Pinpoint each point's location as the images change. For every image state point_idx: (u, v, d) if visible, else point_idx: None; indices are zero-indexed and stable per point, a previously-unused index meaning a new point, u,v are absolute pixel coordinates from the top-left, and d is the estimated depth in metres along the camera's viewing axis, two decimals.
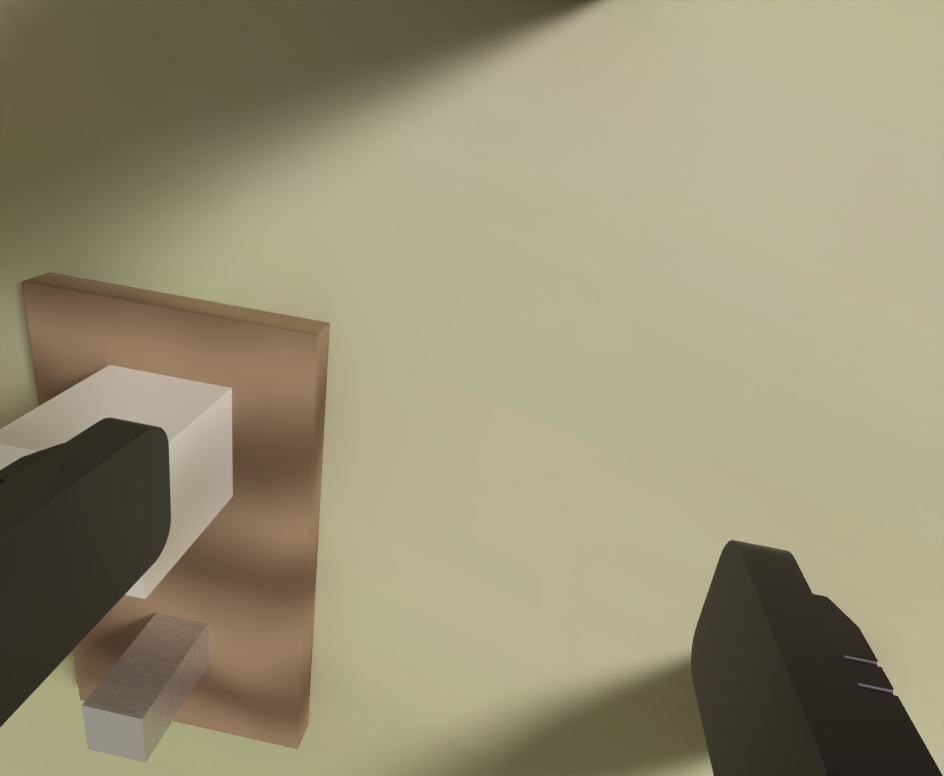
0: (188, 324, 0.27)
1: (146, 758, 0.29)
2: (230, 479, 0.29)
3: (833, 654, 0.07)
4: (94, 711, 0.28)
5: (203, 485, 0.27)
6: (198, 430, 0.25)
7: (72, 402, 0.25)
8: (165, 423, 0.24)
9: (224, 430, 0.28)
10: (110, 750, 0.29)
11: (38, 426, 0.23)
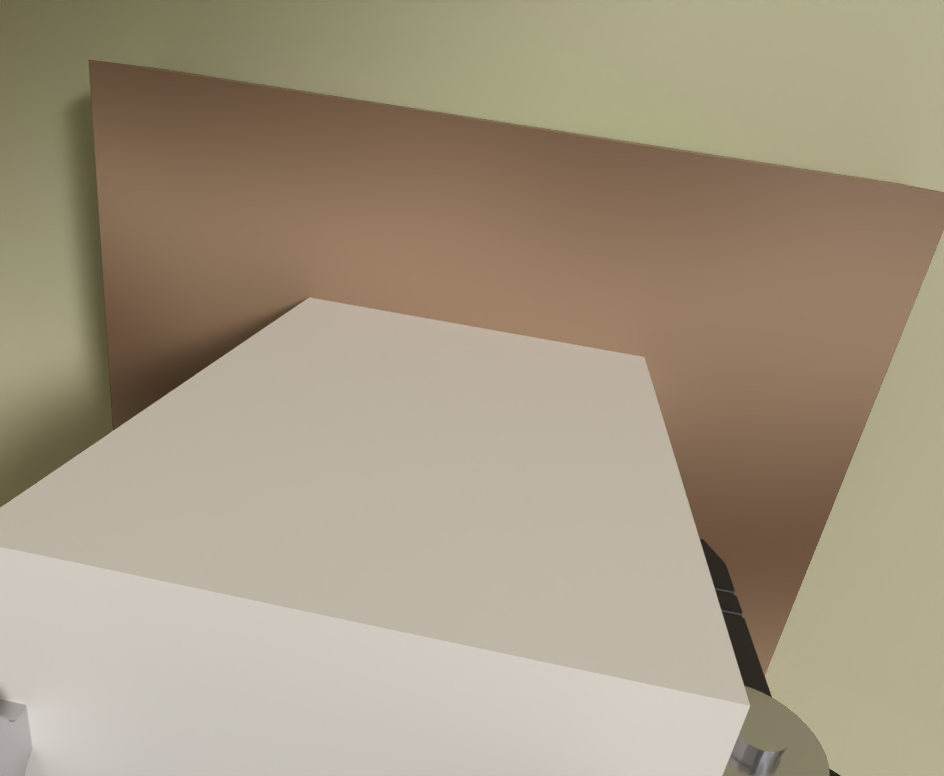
0: (558, 173, 0.09)
1: None
2: None
3: None
4: None
5: None
6: None
7: (269, 384, 0.07)
8: (601, 454, 0.07)
9: None
10: None
11: (193, 468, 0.06)
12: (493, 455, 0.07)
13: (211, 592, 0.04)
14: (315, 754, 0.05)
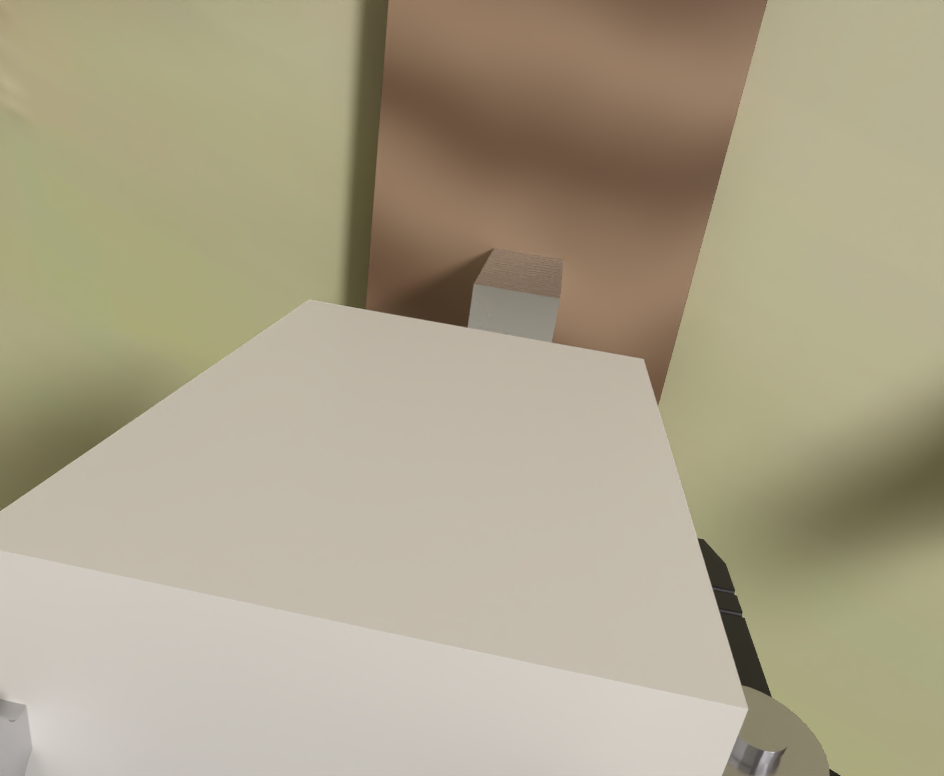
0: None
1: None
2: None
3: None
4: (490, 292, 0.20)
5: None
6: None
7: (269, 386, 0.07)
8: (600, 457, 0.07)
9: None
10: None
11: (194, 470, 0.06)
12: (492, 457, 0.07)
13: (211, 596, 0.04)
14: (314, 756, 0.05)
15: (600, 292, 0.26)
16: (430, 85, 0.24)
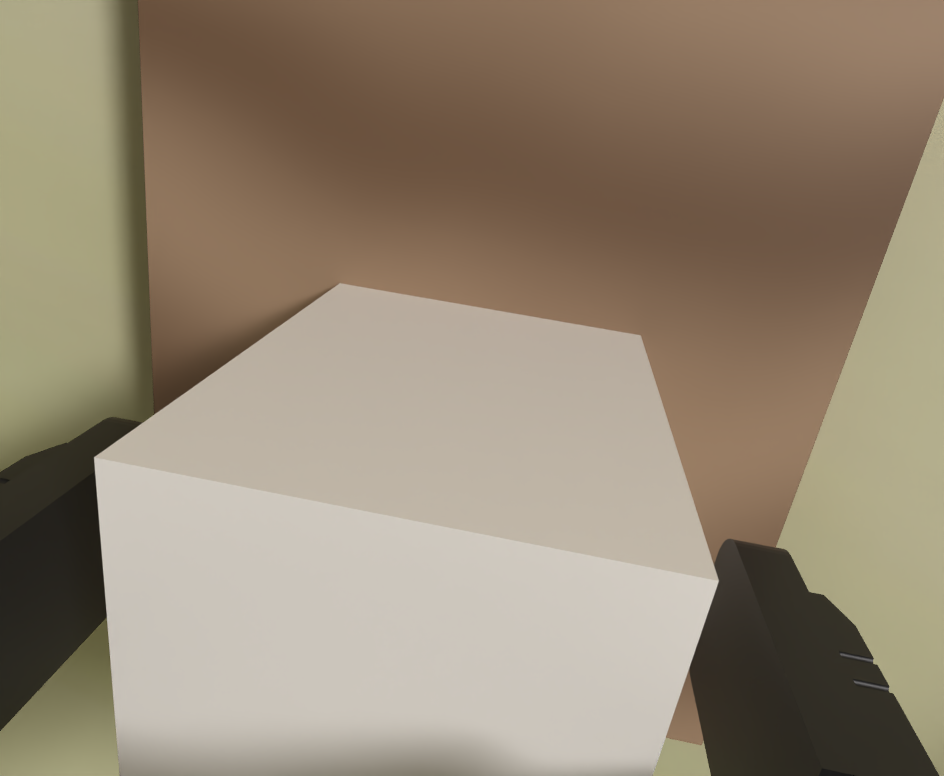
0: None
1: None
2: None
3: (828, 652, 0.07)
4: None
5: None
6: None
7: (317, 352, 0.09)
8: (603, 410, 0.08)
9: None
10: None
11: (267, 413, 0.07)
12: (511, 408, 0.08)
13: (296, 499, 0.06)
14: (375, 633, 0.06)
15: None
16: (242, 13, 0.10)
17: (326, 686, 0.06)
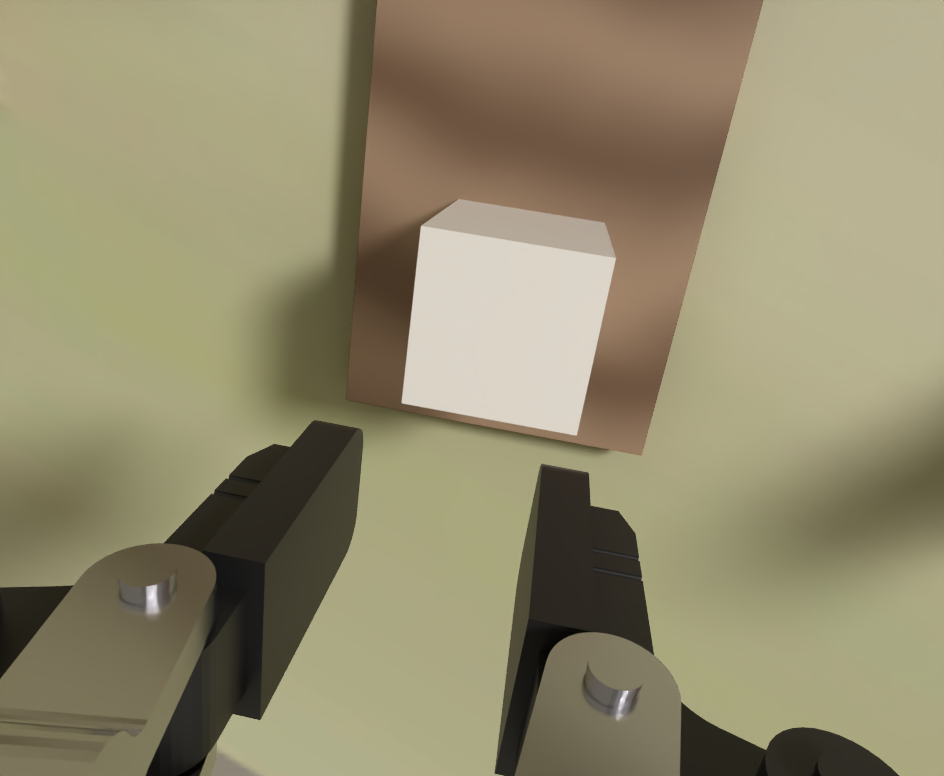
0: None
1: None
2: None
3: (583, 544, 0.08)
4: None
5: None
6: None
7: (467, 214, 0.21)
8: (584, 234, 0.21)
9: None
10: None
11: (462, 224, 0.19)
12: (548, 231, 0.20)
13: (485, 237, 0.18)
14: (507, 286, 0.18)
15: None
16: (421, 70, 0.23)
17: (489, 310, 0.19)
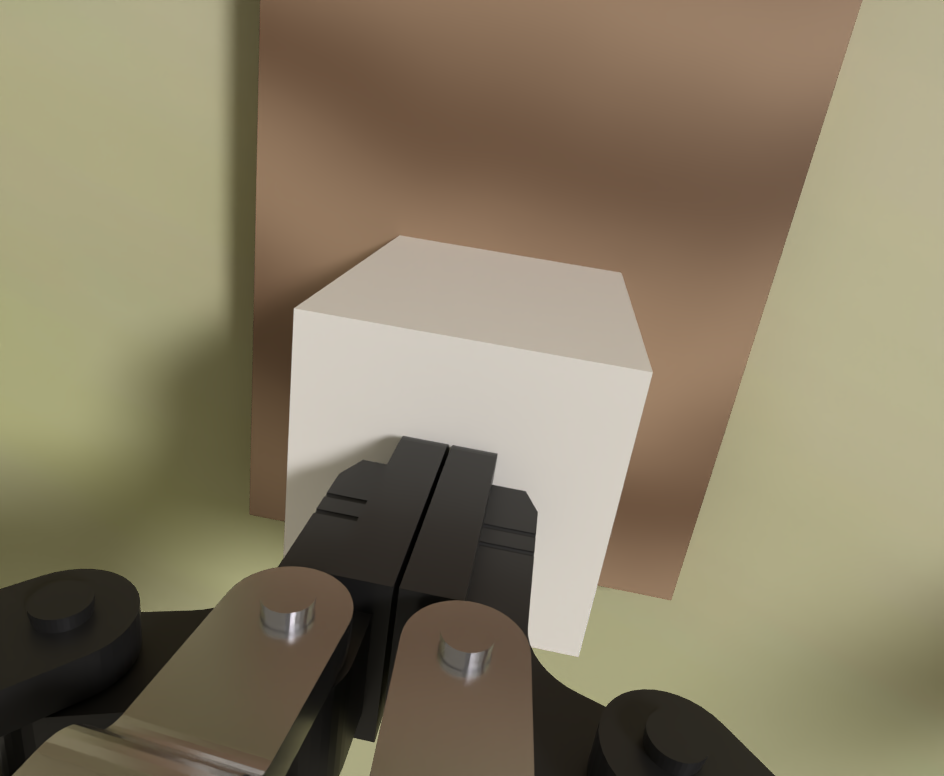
0: None
1: None
2: None
3: (474, 519, 0.08)
4: None
5: None
6: None
7: (398, 270, 0.13)
8: (591, 306, 0.12)
9: None
10: None
11: (380, 296, 0.11)
12: (531, 302, 0.12)
13: (411, 331, 0.10)
14: (454, 416, 0.10)
15: None
16: (335, 38, 0.15)
17: None
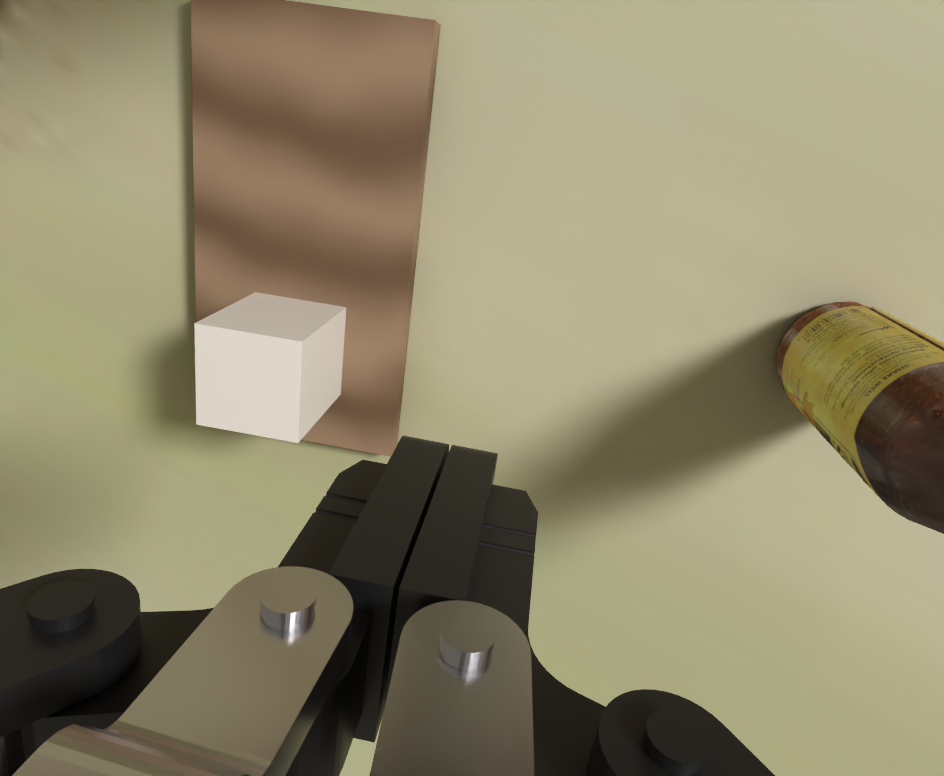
0: (327, 18, 0.33)
1: None
2: (340, 379, 0.39)
3: (474, 519, 0.08)
4: None
5: (328, 375, 0.36)
6: (329, 330, 0.35)
7: (241, 309, 0.35)
8: (309, 321, 0.34)
9: (340, 338, 0.37)
10: None
11: (227, 319, 0.33)
12: (285, 320, 0.34)
13: (230, 330, 0.32)
14: (246, 357, 0.32)
15: (346, 346, 0.38)
16: (224, 215, 0.37)
17: (238, 370, 0.32)
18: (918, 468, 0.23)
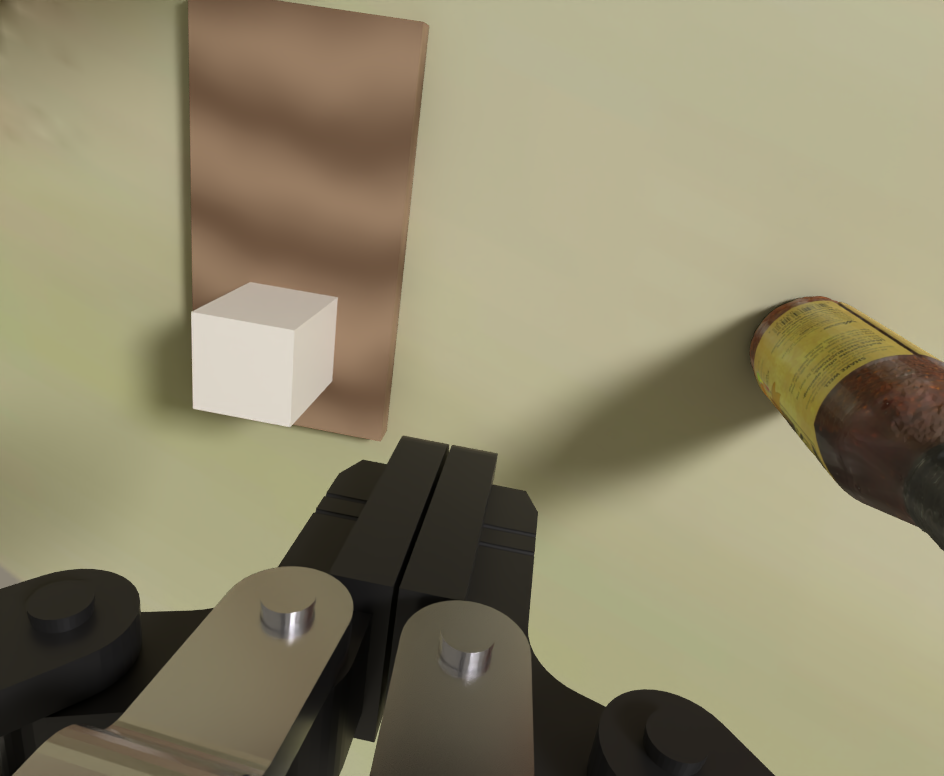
0: (320, 18, 0.34)
1: None
2: (332, 367, 0.40)
3: (474, 519, 0.08)
4: None
5: (320, 362, 0.38)
6: (321, 319, 0.37)
7: (236, 298, 0.36)
8: (301, 311, 0.36)
9: (332, 327, 0.39)
10: None
11: (222, 308, 0.34)
12: (278, 309, 0.35)
13: (226, 318, 0.33)
14: (241, 344, 0.34)
15: (338, 335, 0.40)
16: (220, 207, 0.38)
17: (233, 357, 0.34)
18: (867, 453, 0.25)
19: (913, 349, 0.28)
